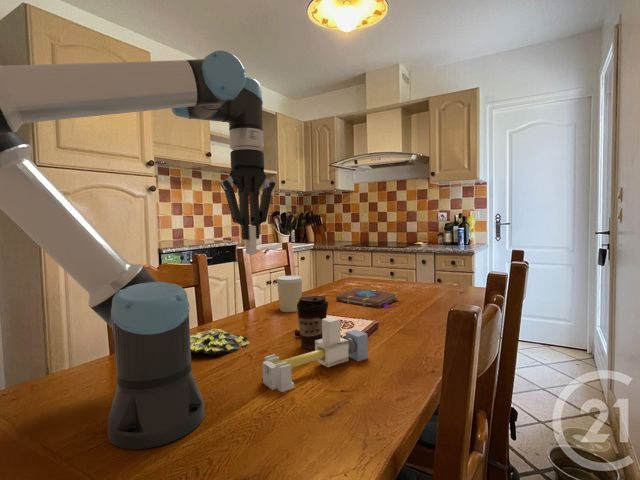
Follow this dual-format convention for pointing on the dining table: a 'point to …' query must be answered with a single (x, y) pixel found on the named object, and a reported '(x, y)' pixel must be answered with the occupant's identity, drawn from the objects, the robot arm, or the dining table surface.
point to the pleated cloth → (216, 342)
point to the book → (367, 297)
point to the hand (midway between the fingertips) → (251, 253)
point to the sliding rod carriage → (332, 343)
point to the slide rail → (280, 371)
